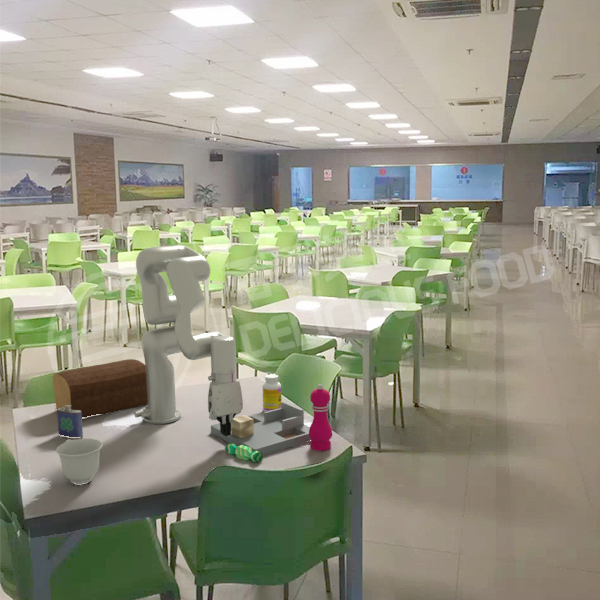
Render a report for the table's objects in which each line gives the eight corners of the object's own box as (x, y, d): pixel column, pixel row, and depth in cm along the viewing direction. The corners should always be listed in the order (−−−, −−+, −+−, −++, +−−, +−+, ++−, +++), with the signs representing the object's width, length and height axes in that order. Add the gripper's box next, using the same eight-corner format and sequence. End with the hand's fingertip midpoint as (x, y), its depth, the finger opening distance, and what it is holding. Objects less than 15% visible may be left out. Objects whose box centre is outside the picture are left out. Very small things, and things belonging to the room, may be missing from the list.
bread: (53, 410, 243) (50, 367, 240) (130, 393, 261) (128, 353, 258) (72, 423, 229) (69, 378, 226) (152, 405, 247) (150, 363, 244)
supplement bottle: (281, 414, 235) (280, 378, 233) (262, 414, 236) (261, 378, 233) (282, 407, 242) (281, 373, 240) (263, 407, 242) (263, 373, 240)
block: (240, 438, 206) (239, 422, 206) (231, 433, 210) (231, 418, 210) (253, 434, 209) (253, 419, 209) (245, 429, 213) (244, 414, 213)
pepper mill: (335, 444, 207) (335, 381, 204) (328, 453, 201) (328, 388, 197) (313, 441, 210) (312, 379, 206) (305, 450, 203) (304, 386, 200)
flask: (84, 437, 216) (82, 405, 214) (78, 440, 213) (76, 407, 211) (62, 433, 219) (59, 402, 218) (55, 436, 217) (53, 404, 215)
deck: (255, 457, 198) (254, 433, 197) (210, 432, 218) (210, 410, 217) (318, 438, 212) (318, 415, 211) (271, 416, 233) (270, 396, 231)
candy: (223, 452, 200) (228, 439, 201) (230, 455, 202) (235, 442, 203) (252, 463, 192) (257, 449, 193) (259, 466, 195) (264, 452, 196)
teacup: (89, 465, 194) (87, 432, 192) (112, 481, 183) (110, 446, 181) (47, 477, 186) (45, 443, 184) (69, 495, 175) (66, 459, 173)
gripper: (208, 384, 196) (210, 444, 199) (251, 375, 204) (253, 432, 208) (196, 378, 202) (198, 436, 205) (238, 370, 210) (240, 425, 213)
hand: (225, 434), depth 206 cm, fingers closed
